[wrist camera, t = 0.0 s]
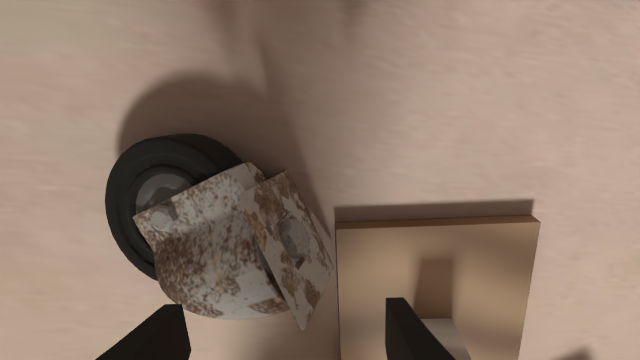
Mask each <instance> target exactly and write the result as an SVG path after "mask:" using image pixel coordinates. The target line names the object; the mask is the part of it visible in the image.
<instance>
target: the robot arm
mask: <svg viewBox="0 0 640 360" xmlns="http://www.w3.org/2000/svg"><path fill="white" fill-rule="evenodd" d="M385 348H386V354H387V360H456V359H455V358H454V357H453V356H452V355H451V354H450V353H449V352H448V351H447V350H446V348H445V347H444V346H443V345H442V344H441V343H440V342H439V341H438V340H437V338H436V337H435V336H434V335H433V334H432V333H431V331H430V330H429V329H428V328H427V327H426V326H425V324H424V323H423V322H422V321H421V319H420V318H419V317H418V315H417V314H416V313H415V311H414V310H413V309H412V307H411V306H410V305H409V303H408V302H407V300H406V299H405V298H404V297H396V298H386V312H385ZM190 353H191V346H190V341H189V336H188V331H187V327H186V322H185V317H184V312H183V307H182V304H165V305H164V306H162V307H161V308H160V309H158V310H157V311H156V312H155V313H153V314H152V315H151V316H150V317H148V318H147V319H146V320H145V321H144V322H142V323H141V324H140V325H139V326H137V327H136V328H135V329H134V330H133V331H131V332H130V333H129V334H128V335H126V336H125V337H124V338H123V339H121V340H120V341H119V342H118V343H116V344H115V345H114V346H113V347H111V348H110V349H109V350H107V351H106V352H105V353H103V354H102V355H101V356H99V357H98V358H97V359H95V360H188V359H189V356H190Z"/></svg>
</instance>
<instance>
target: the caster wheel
mask: <svg viewBox="0 0 640 360" xmlns="http://www.w3.org/2000/svg"><path fill="white" fill-rule="evenodd" d="M105 206H106V215H107V219H108V224H109V226H110V229H111V232H112V235H113V237H114V239H115V241H116V242H117V244H118V246H119V248H120V249H121V251H122V252H123V253H124V255H125V256H126V257H127V259H128V260H129V261H130V262H131V263H132V264H133V265H134V266H135V267H137V268H138V269H139V270H140V271H141V272H143V273H144V274H146V275H147V276H149V277H150V278H152V279H154V280H156V281H158V282H159V284H160V286H161V288H162V290H163V292H164V293H165V294H166V295H167V296H168V298H170V299H171V300H172V301H173V302H175V303H176V304H182V307H183V308H184V309H186V310H188V311H190V312H193V313H195V314H198V315H202V316H206V317H210V318H217V319H225V320H247V319H257V318H263V317H267V316H271V315H274V314H277V313H280V312H283V311H286V310H291V312H292V314H293V316H294V318H295V320H296V322H297V324H298V326H299V327H300V328H301V330H302V331H304V329H305V327H306V325H307V323H308V321H309V319H310V317H311V315H312V312H313V310H314V308H315V306H316V304H317V302H318V300H319V298H320V296H321V294H322V292H323V290H324V288H325V286H326V284H327V282H328V280H329V278H330V276H331V274H332V271H333V264H332V262H331V260H330V258H329V256H328V254H327V251H326V249H325V247H324V245H323V243H322V241H321V239H320V237H319V235H318V233H317V230H316V228H315V226H314V224H313V222H312V220H311V218H310V216H309V214H308V212H307V209H306V207H305V205H304V203H303V201H302V199H301V197H300V195H299V193H298V191H297V188H296V186H295V184H294V182H293V180H292V178H291V176H290V174H289V173H288V172H287V170H286V171H284V172H282V173H280V174H278V175H276V176H274V177H272V178H270V179H268V180H266V178H265V176H264V175H263V174H262V172H261V171H260V170H259V169H257V168H256V167H255V166H254V165H253V164H252V163H250V162H246V163H243V162H242V161H241V160H240V159H239V158H238V157H237V156H236V155H235V154H234V153H233V152H232V151H231V150H230V149H229V148H227V147H226V146H224V145H223V144H221V143H219V142H218V141H216V140H214V139H211V138H208V137H206V136H202V135H197V134H177V135H168V136H161V137H155V138H150V139H146V140H143V141H140V142H138V143H136V144H134V145H132V146H131V147H130V148H129V149H127V150H126V151H125V152H124V153H123V154H122V155H121V156H120V157H119V159H118V160H117V162H116V163H115V165H114V166H113V168H112V170H111V172H110V175H109V178H108V181H107V187H106V194H105Z"/></svg>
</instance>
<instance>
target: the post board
mask: <svg viewBox="0 0 640 360" xmlns="http://www.w3.org/2000/svg"><path fill="white" fill-rule="evenodd" d="M540 223H541V222H540V221H538V220H537V219H536V218H535V217H533V216H532V215H519V216H492V217H466V218H439V219H412V220H385V221H358V222H336V247H337V273H338V299H339V325H340V351H341V360H387V354H386V348H385V312H386V298H396V297H404V298H405V299H406V300H407V302H408V303H409V305H410V306H411V307H412V309H413V310H414V311H415V313H416V314H417V315H418V317H419V318H420V319H421V321H422V322H423V323H424V324H425V326H426V327H427V328H428V329H429V330H430V331H431V333H432V334H433V335H434V336H435V337H436V338H437V340H438V341H439V342H440V343H441V344H442V345H443V346H444V347H445V348H446V350H447V351H448V352H449V353H450V354H451V355H452V356H453V357H454V358H455V359H456V360H518V356H519V350H520V344H521V338H522V332H523V326H524V320H525V314H526V308H527V302H528V296H529V289H530V283H531V277H532V271H533V265H534V259H535V253H536V247H537V241H538V235H539V229H540Z"/></svg>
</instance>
